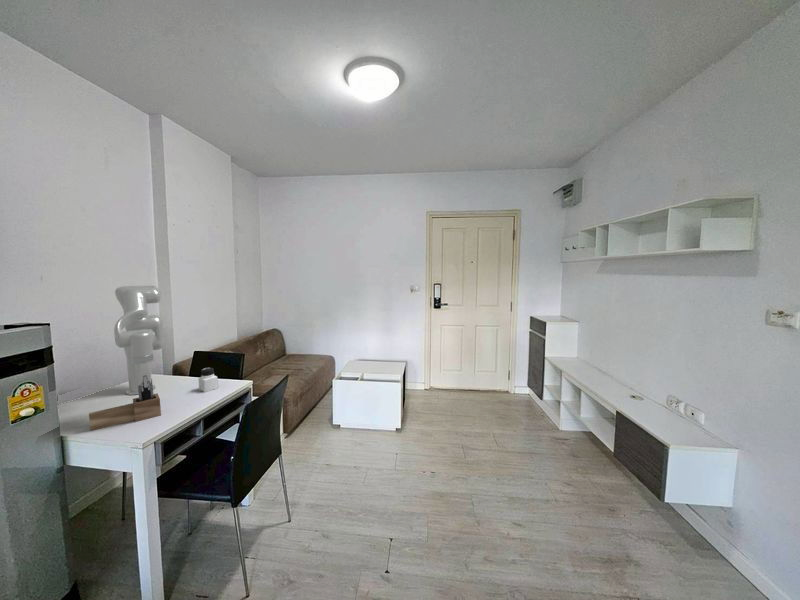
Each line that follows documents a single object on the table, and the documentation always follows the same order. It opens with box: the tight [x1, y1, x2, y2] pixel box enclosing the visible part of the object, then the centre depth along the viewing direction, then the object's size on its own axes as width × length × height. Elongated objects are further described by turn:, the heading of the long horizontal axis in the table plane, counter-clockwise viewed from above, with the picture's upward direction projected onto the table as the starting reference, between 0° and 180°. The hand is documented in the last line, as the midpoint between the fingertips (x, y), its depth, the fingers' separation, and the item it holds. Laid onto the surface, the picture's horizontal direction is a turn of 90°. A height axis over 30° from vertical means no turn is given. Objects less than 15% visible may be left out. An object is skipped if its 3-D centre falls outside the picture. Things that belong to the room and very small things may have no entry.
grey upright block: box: [137, 377, 154, 402], centre depth 138 cm, size 3×5×12 cm, turn 134°
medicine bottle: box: [198, 367, 219, 393], centre depth 170 cm, size 7×7×12 cm
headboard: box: [88, 392, 162, 432], centre depth 134 cm, size 9×23×8 cm, turn 134°
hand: (146, 397), depth 138 cm, fingers closed on grey upright block, 3 cm apart
